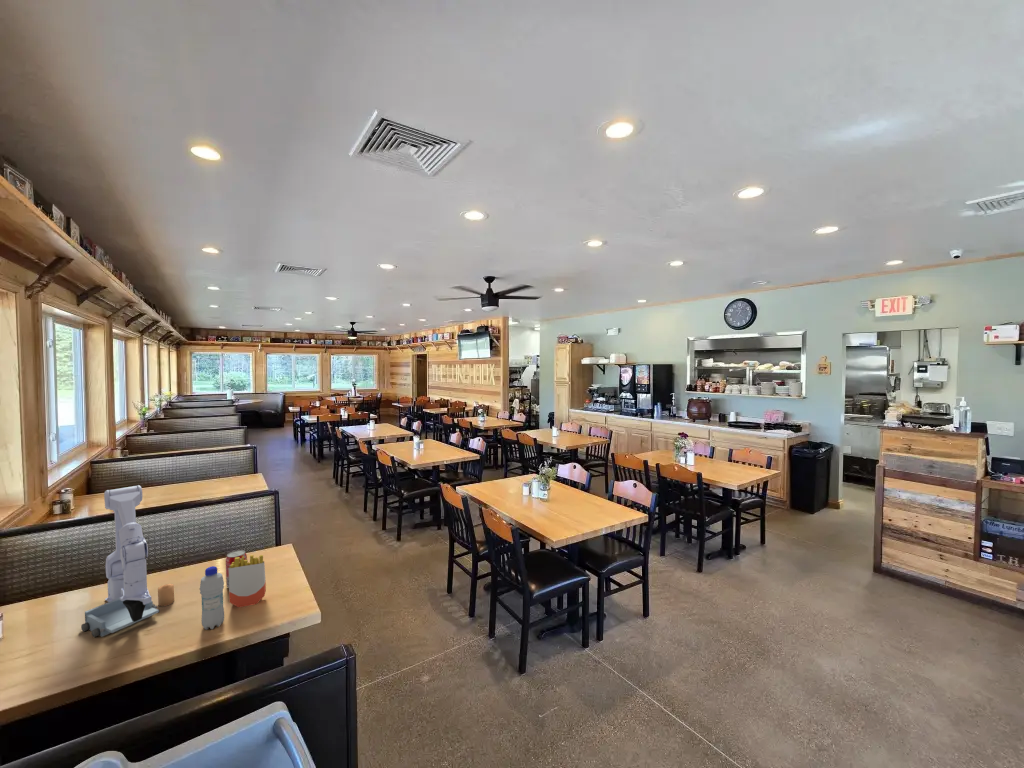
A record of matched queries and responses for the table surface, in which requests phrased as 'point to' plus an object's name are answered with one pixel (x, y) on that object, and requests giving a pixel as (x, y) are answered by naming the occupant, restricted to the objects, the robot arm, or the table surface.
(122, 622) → the panel
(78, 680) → the table surface
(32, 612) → the table surface
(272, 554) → the table surface
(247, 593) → the french fries container
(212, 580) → the bottle
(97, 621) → the box
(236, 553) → the soda can
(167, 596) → the tan hollow cylinder
